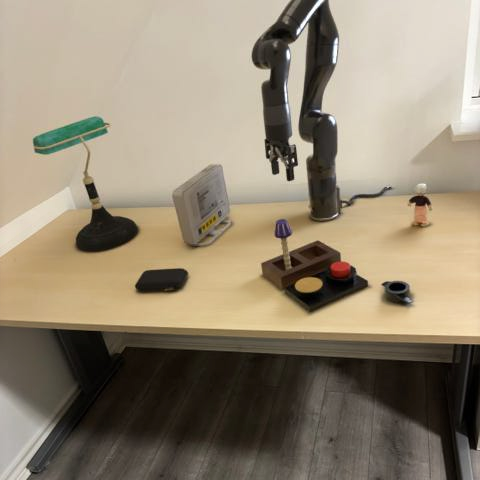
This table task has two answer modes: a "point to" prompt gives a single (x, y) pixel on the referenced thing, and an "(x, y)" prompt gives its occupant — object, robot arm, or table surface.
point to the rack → (300, 264)
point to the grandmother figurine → (420, 205)
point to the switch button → (340, 269)
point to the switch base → (327, 289)
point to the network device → (202, 205)
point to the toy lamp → (284, 239)
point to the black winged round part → (397, 292)
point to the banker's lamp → (89, 187)
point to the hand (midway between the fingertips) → (283, 177)
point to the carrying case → (161, 279)
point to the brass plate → (308, 285)
